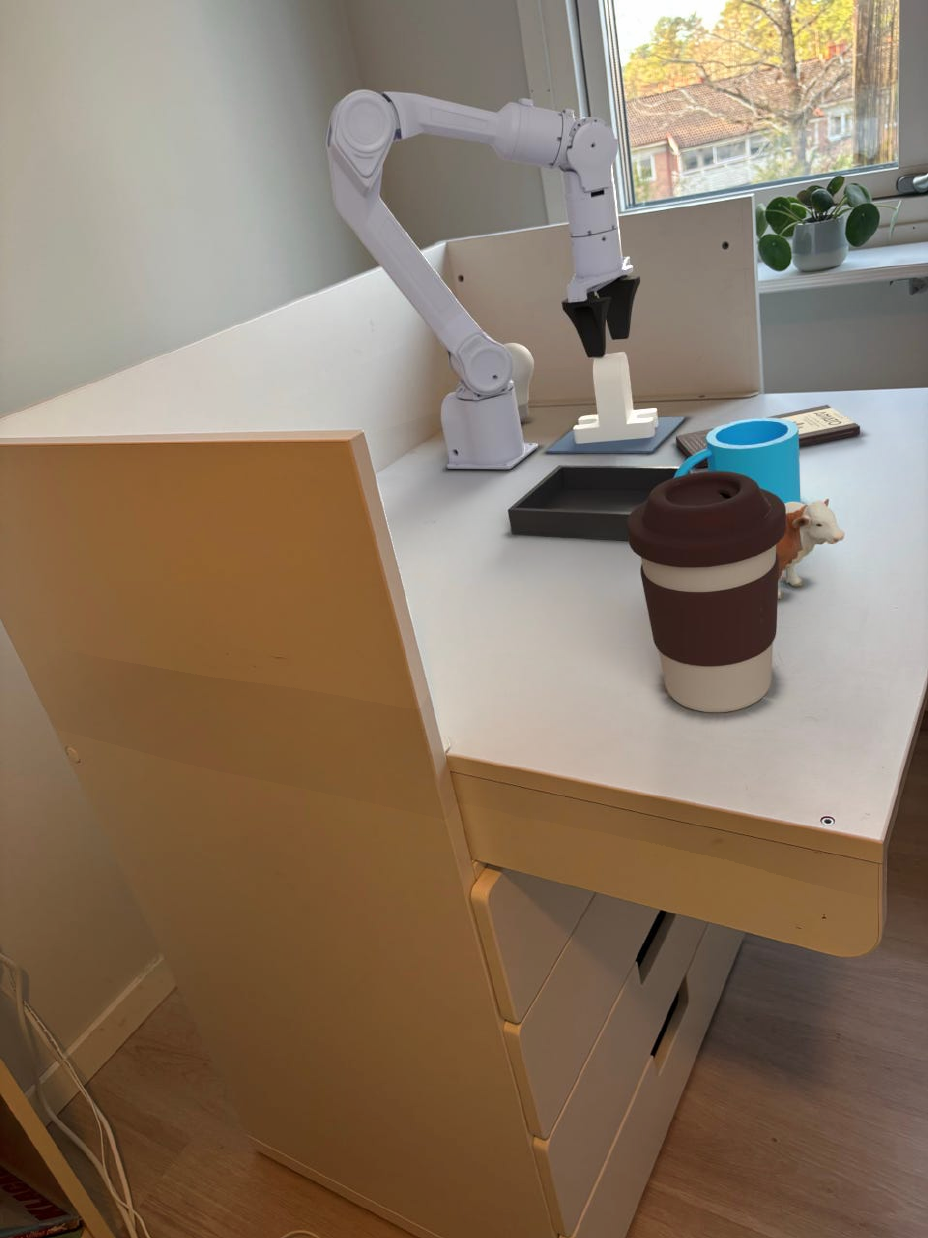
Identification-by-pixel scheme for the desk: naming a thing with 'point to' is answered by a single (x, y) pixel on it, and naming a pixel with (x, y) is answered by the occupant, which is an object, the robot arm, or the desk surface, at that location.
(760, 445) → the mug
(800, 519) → the bull figurine
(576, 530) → the tray
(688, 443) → the chocolate bar
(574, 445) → the cloth
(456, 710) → the desk surface
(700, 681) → the coffee cup
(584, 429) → the cable organizer
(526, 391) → the lightbulb
